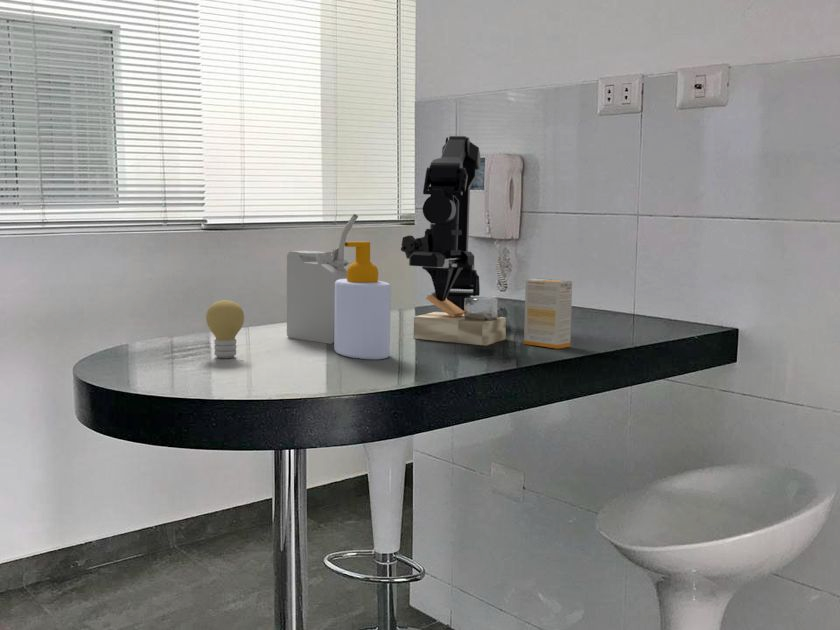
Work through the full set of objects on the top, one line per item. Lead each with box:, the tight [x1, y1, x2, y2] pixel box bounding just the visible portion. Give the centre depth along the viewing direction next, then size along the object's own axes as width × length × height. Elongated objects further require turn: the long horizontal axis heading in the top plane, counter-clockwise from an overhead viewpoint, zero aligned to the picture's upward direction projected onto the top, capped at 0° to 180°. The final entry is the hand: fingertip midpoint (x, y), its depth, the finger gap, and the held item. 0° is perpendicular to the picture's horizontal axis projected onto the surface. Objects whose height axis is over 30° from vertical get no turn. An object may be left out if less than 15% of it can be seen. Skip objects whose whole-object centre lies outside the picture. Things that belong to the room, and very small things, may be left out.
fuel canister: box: [286, 213, 359, 345], centre depth 175 cm, size 15×5×25 cm, turn 53°
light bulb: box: [205, 299, 245, 359], centre depth 154 cm, size 6×6×10 cm
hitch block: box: [413, 311, 507, 346], centre depth 181 cm, size 10×16×4 cm, turn 63°
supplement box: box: [523, 277, 573, 350], centre depth 174 cm, size 8×5×13 cm, turn 47°
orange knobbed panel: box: [425, 291, 464, 317], centre depth 182 cm, size 7×5×2 cm
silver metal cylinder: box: [464, 296, 499, 321], centre depth 179 cm, size 7×7×8 cm
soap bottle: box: [333, 241, 392, 361], centre depth 160 cm, size 13×8×20 cm, turn 37°
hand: (441, 300), depth 182 cm, fingers closed, pressing on orange knobbed panel
